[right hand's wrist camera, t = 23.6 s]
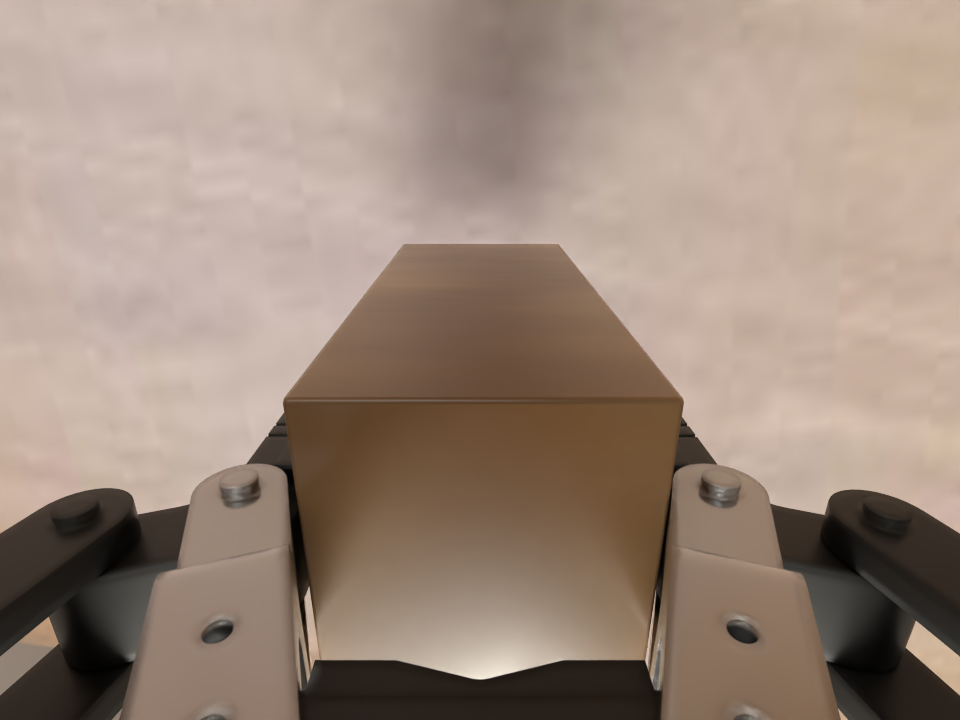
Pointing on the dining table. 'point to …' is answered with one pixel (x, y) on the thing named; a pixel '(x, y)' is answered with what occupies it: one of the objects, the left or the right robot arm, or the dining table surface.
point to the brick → (482, 467)
